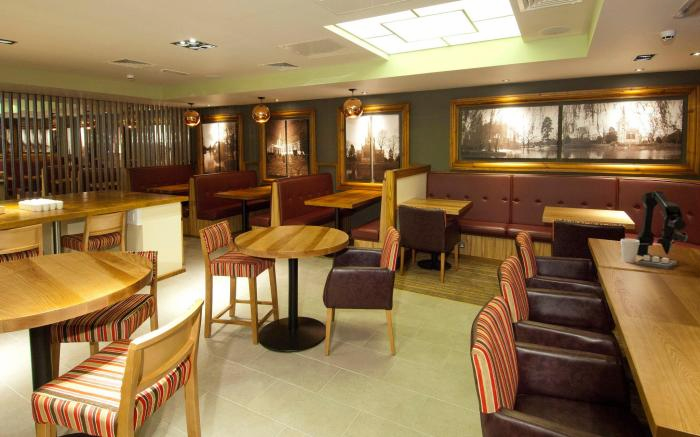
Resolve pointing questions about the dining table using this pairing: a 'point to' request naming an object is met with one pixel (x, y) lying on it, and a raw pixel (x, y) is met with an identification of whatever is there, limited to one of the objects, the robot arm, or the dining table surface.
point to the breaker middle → (655, 259)
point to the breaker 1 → (646, 257)
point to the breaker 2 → (665, 260)
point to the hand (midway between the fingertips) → (667, 254)
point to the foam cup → (629, 250)
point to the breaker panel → (657, 263)
